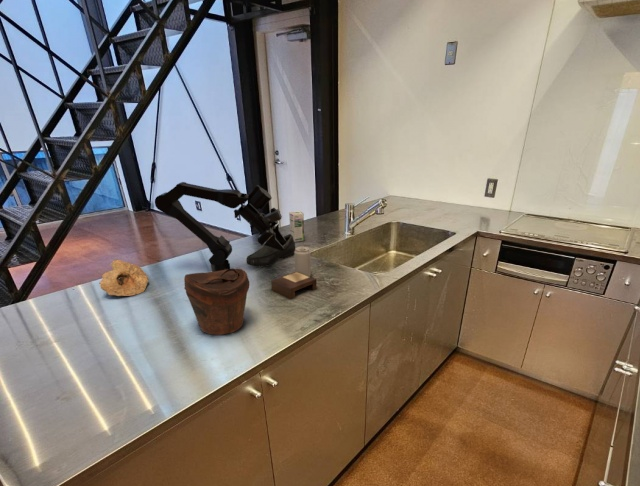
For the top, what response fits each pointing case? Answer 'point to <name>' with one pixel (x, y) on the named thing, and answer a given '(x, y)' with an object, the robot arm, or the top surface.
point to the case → (218, 299)
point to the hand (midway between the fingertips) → (284, 246)
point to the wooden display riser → (292, 284)
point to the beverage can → (302, 260)
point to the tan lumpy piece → (124, 279)
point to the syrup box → (297, 225)
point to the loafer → (272, 253)
